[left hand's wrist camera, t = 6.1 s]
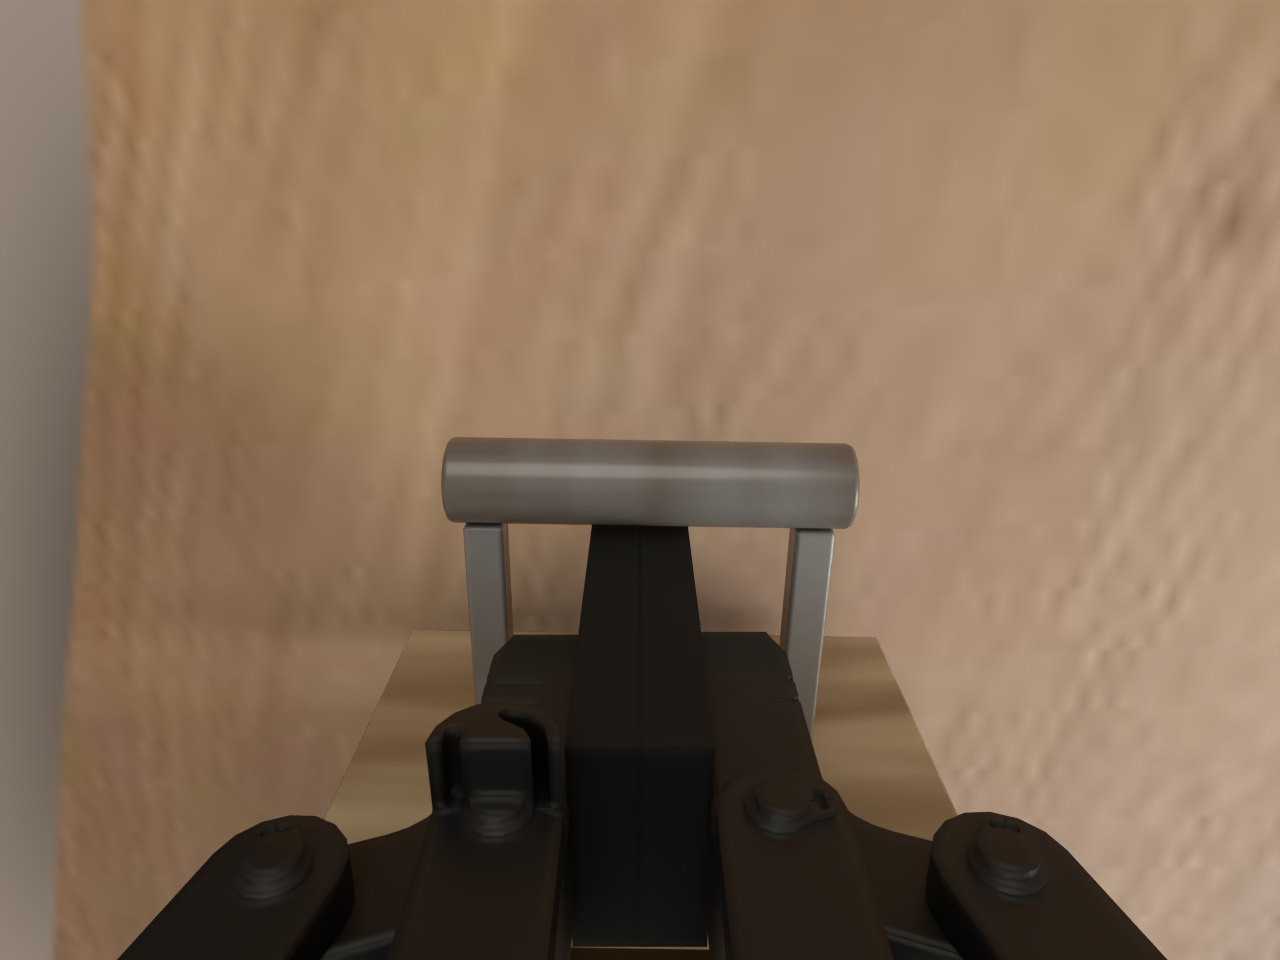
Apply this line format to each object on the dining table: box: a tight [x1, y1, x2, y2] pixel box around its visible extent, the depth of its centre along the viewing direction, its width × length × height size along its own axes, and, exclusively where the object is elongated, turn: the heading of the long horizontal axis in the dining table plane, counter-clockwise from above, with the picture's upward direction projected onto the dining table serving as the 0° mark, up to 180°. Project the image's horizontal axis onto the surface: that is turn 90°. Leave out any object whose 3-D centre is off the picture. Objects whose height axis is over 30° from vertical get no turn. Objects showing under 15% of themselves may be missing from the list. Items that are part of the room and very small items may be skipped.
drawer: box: [324, 437, 958, 960], centre depth 17 cm, size 21×10×7 cm, turn 179°
